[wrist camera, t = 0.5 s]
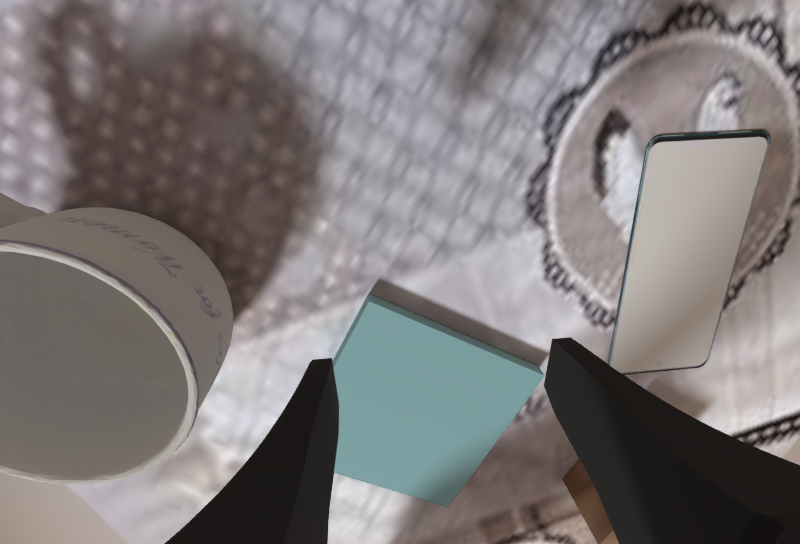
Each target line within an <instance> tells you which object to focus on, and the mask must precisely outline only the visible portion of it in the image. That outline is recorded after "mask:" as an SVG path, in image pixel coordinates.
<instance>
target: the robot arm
mask: <svg viewBox="0 0 800 544" xmlns="http://www.w3.org/2000/svg"><path fill="white" fill-rule="evenodd" d="M544 387H545V389H546V392H547V395H548V397H549V400H550V403H551V405H552V408H553V410H554V412H555V415H556V417H557V418H558V420H559V422H560V424H561V426H562V428H563V430H564V431H565V433H566V435H567V437H568V439H569V441H570V442H571V444H572V446H573V448H574V450H575V451H576V453H577V455H578V457H579V459H580V460H581V462H582V464H583V466H584V468H585V470H586V471H587V473H588V475H589V477H590V479H591V481H592V483H593V485H594V487H595V489H596V491H597V493H598V495H599V497H600V500H601V502H602V504H603V507H604V509H605V511H606V514H607V516H608V518H609V520H610V523H611V525H612V528H613V530H614V533H615V535H616V538H617V540H618V542H619V544H800V465H797V464H795V463H792V462H790V461H787V460H785V459H782V458H780V457H777V456H775V455H772V454H770V453H767V452H765V451H763V450H760V449H758V448H756V447H753V446H751V445H749V444H746V443H744V442H742V441H740V440H737V439H735V438H733V437H731V436H729V435H727V434H725V433H723V432H721V431H718V430H716V429H714V428H712V427H710V426H708V425H706V424H704V423H702V422H700V421H699V420H697V419H695V418H693V417H691V416H689V415H688V414H686V413H684V412H682V411H680V410H678V409H677V408H675V407H673V406H671V405H670V404H668V403H666V402H664V401H663V400H661V399H660V398H658V397H656V396H655V395H653V394H652V393H650V392H648V391H647V390H645V389H644V388H642V387H641V386H639V385H638V384H636V383H635V382H633V381H631V380H630V379H629V378H627V377H626V376H624V375H623V374H621V373H620V372H618V371H617V370H616V369H614V368H613V367H611V366H610V365H608V364H607V363H606V362H604V361H603V360H602V359H600V358H599V357H597V356H596V355H595V354H593V353H592V352H590V351H589V350H588V349H586V348H585V347H583V346H582V345H581V344H579V343H578V342H576V341H575V340H573V339H572V338H559V339H552V344H551V349H550V355H549V360H548V366H547V372H546V377H545V383H544ZM338 436H339V400H338V394H337V387H336V381H335V375H334V368H333V362H332V358H328V359H317V360H312V361H311V362H310V363H309V366H308V368H307V370H306V372H305V374H304V376H303V378H302V380H301V382H300V383H299V385H298V387H297V389H296V391H295V393H294V394H293V396H292V398H291V399H290V401H289V403H288V404H287V406H286V408H285V409H284V411H283V412H282V414H281V416H280V417H279V418H278V420H277V421H276V423H275V424H274V426H273V427H272V429H271V430H270V432H269V433H268V435H267V436H266V437H265V439H264V440H263V441H262V443H261V444H260V445H259V447H258V448H257V449H256V451H255V452H254V453H253V454H252V456H251V457H250V458H249V459H248V461H247V462H246V463H245V464H244V465H243V467H242V468H241V469H240V470H239V471H238V472H237V473H236V475H235V476H234V477H233V478H232V479H231V480H230V481H229V482H228V484H227V485H226V486H225V487H224V488H223V489H222V490H221V491H220V492H219V493H218V494H217V495H216V496H215V497H214V498H213V499H212V500H211V501H210V502H209V503H208V504H207V505H206V506H205V507H204V508H203V509H202V510H201V511H200V512H199V513H198V514H197V515H196V516H195V517H194V518H193V519H192V520H191V521H190V522H189V523H188V524H186V525H185V526H184V527H183V528H182V529H181V530H180V531H179V532H178V533H176V534H175V535H174V536H173V537H172V538H171V539H169V540H168V541H167V542H166V543H165V544H327V540H328V518H329V507H330V499H331V491H332V483H333V476H334V468H335V460H336V452H337V444H338Z"/></svg>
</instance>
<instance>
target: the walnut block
mask: <svg viewBox="0 0 800 544" xmlns="http://www.w3.org/2000/svg"><path fill="white" fill-rule="evenodd" d="M562 480H563V481H564V483H565V485H566V487H567V489H568V491H569V492H570V494H571V496H572V498H573V500H574V501H575V503H576V505H577V507H578V509H579V510H580V512H581V514H582V516H583V518H584V519H585V521H586V523H587V525H588V527H589V529H590V530H591V532H592V534H593V536H594V538H595V539H596V541H597V543H598V544H619V542H618V540H617V538H616V535H615V533H614V530H613V528H612V525H611V523H610V520H609V518H608V516H607V514H606V511H605V509H604V507H603V504H602V502H601V500H600V497H599V495H598V493H597V491H596V489H595V487H594V485H593V483H592V481H591V479H590V477H589V475H588V473H587V471H586V470H585V468H584V466H583V464H582V462H581V460H580V459H579V460H578V461H577V462H576V463H575V465H574V466H573V467H572V468H571V469H570V471H569V472H568V473H567V474H566V475H565V477H564V478H563V479H562Z"/></svg>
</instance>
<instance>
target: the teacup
mask: <svg viewBox="0 0 800 544" xmlns="http://www.w3.org/2000/svg"><path fill="white" fill-rule="evenodd" d="M232 330H233V309H232V303H231V298H230V295H229V292H228V289H227V286H226V284H225V282H224V280H223V278H222V276H221V274H220V272H219V271H218V269H217V268H216V266H215V265H214V264H213V262H212V261H211V259H210V258H209V257H208V256H207V255H206V254H205V253H204V252H203V251H202V249H201V248H200V247H198V246H197V245H196V244H195V243H194V242H193V241H191V240H190V239H189V238H188V237H187V236H185V235H184V234H182V233H181V232H179V231H177V230H176V229H174V228H172V227H171V226H169V225H167V224H165V223H163V222H161V221H159V220H157V219H154V218H151V217H149V216H146V215H143V214H140V213H136V212H132V211H127V210H122V209H115V208H104V207H87V208H76V209H69V210H64V211H59V212H54V213H50V214H47V213H45V212H43V211H41V210H39V209H36V208H33V207H28V206H24V205H22V204H20V203H18V202H16V201H15V200H13V199H11V198H9V197H8V196H6V195H4V194H2V193H0V471H1V472H3V473H6V474H9V475H12V476H16V477H20V478H25V479H29V480H33V481H39V482H45V483H54V484H71V485H80V484H97V483H103V482H109V481H115V480H121V479H124V478H127V477H130V476H133V475H137V474H140V473H143V472H146V471H149V470H150V469H152V468H153V467H154V466H156V465H158V464H159V463H161V462H163V461H164V460H165V459H167V458H168V457H169V456H170V455H172V454H173V453H174V452H175V451H176V450H177V449H178V448H179V447H180V446H181V444H182V443H183V442H184V441H185V439H186V438H187V437H188V435H189V433H190V431H191V429H192V427H193V425H194V422H195V420H196V417H197V413H198V409H199V408H200V406H201V404H202V402H203V401H204V399H205V397H206V395H207V393H208V392H209V390H210V388H211V386H212V384H213V382H214V380H215V378H216V376H217V374H218V372H219V370H220V368H221V366H222V364H223V361H224V359H225V357H226V354H227V351H228V348H229V345H230V341H231V337H232Z"/></svg>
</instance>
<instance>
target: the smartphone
mask: <svg viewBox="0 0 800 544" xmlns="http://www.w3.org/2000/svg"><path fill="white" fill-rule="evenodd" d="M769 145H770V135H769V133H768V132H766V131H763V130H758V131H738V132H718V133H699V134H679V135H661V136H656V137H654V138H653V139H652V140H651V141H650V142H649V143H648V145H647V147H646V151H645V156H644V162H643V168H642V173H641V179H640V185H639V190H638V196H637V202H636V207H635V213H634V219H633V224H632V230H631V236H630V241H629V247H628V253H627V258H626V264H625V270H624V275H623V281H622V287H621V292H620V298H619V304H618V309H617V315H616V321H615V326H614V332H613V338H612V343H611V349H610V354H609V360H608V365H610V366H611V367H613V368H614V369H616V370H617V371H618V372H620V373H621V374H623V375H626V374H637V373H648V372H658V371H669V370H679V369H690V368H698V367H701V366H703V365H704V364H705V363H706V362H707V361H708V359H709V356H710V352H711V349H712V345H713V342H714V338H715V335H716V331H717V328H718V324H719V321H720V317H721V314H722V310H723V307H724V303H725V299H726V296H727V292H728V289H729V285H730V282H731V278H732V275H733V271H734V268H735V264H736V261H737V257H738V254H739V250H740V247H741V243H742V240H743V236H744V233H745V229H746V226H747V222H748V219H749V215H750V211H751V208H752V204H753V201H754V197H755V194H756V190H757V187H758V183H759V180H760V176H761V173H762V169H763V166H764V162H765V159H766V155H767V152H768V148H769Z"/></svg>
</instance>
